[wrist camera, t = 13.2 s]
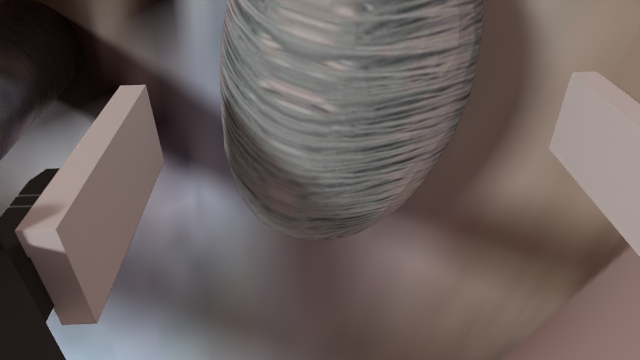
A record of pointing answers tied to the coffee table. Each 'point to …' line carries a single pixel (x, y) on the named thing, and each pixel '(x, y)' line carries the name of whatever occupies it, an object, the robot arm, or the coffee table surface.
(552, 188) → the coffee table surface
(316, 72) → the grey streaked egg shape
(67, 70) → the latch post
